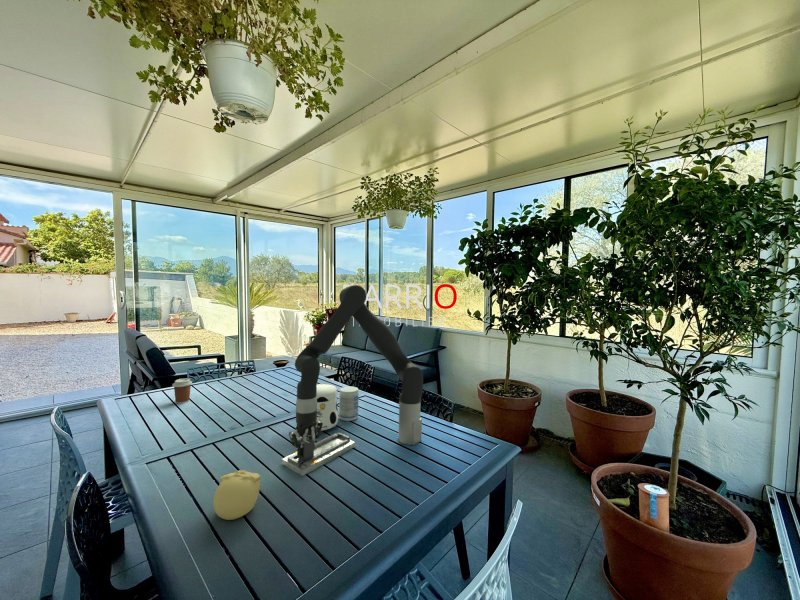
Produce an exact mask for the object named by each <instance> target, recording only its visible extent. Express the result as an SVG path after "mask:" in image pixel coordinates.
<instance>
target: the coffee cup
mask: <svg viewBox="0 0 800 600" xmlns="http://www.w3.org/2000/svg"><path fill="white" fill-rule="evenodd" d="M192 384H193V381H191V379H190V378H179V379H176V380H174V383H172V387H173V389H174V391H173V392H174V398H175V399H174V401H175V404H179V405H180V404H185V403H188V402H190V396H191V385H192Z"/></svg>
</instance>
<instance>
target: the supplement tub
mask: <svg viewBox="0 0 800 600" xmlns="http://www.w3.org/2000/svg"><path fill="white" fill-rule="evenodd" d="M359 395H360V394H359V388H358V387H356V386H343V387H341V388H339V406H338V407H339V409H338V414H339V417H338V418H339V419H340V420H342V421H345V422H351V421H355V420H356V419H358V417H359Z"/></svg>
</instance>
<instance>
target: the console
mask: <svg viewBox="0 0 800 600" xmlns="http://www.w3.org/2000/svg"><path fill="white" fill-rule="evenodd" d="M355 447H356V441H354V440H351V437H350V436H348V435H346V434H343V433H342V432H337V433H334V434H331V435H329V436H327V437H325V438H323V439H321V440H319V441H317V442H315V445H314V456H313V457H311V458H309V459H307V460H305V461H303V460H301V459H300V458H298V455H297V451H295V452H294V453H291V454H290V455H287V456H285V457H284V458H281V465H283V466H285V467H286V468H288V469H289V470H292V471H293V472H295V473H296V474H298V475H300V476H301V477H303V476H306V475H308V474H309V473H310V472H312V471H314V470H316V469H318V468H320V467H321V466H323V465H326V464H327V463H328V462H331V461H333V460H335V459H336V458H338V457H339V456H342V455H344V453H347V452H348V451H350V450H352V449H354V448H355Z"/></svg>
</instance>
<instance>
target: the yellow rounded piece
mask: <svg viewBox="0 0 800 600" xmlns="http://www.w3.org/2000/svg"><path fill="white" fill-rule="evenodd" d="M261 478H262V476H261V474H259V473H256V472H249V471H247V470H245V469H239V470H237V471H235V472H232V473H228V474H225V475H222V476H221V477H220V483H219V485H218V486H217V488H216V490H215V493H214V495H213V496H214V497H213V502H212V503H213V509H214V512H215V514H216V515H217V516H218V517H219V518H221V519H223V520H228V521H231V520H237V519H239V518H242V517H243V516H245V515H247V514H248V513H249V512H250V511H251V510H252V509H253V508H254V506H255V505H256V503H257V500H258V497H259V494H260V489H261Z"/></svg>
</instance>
